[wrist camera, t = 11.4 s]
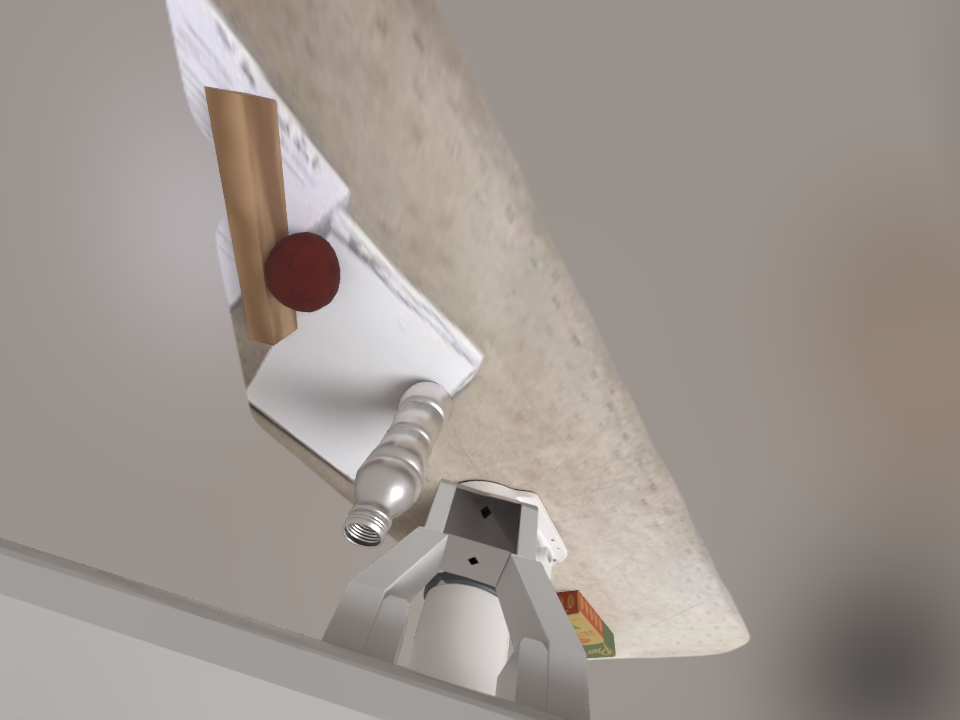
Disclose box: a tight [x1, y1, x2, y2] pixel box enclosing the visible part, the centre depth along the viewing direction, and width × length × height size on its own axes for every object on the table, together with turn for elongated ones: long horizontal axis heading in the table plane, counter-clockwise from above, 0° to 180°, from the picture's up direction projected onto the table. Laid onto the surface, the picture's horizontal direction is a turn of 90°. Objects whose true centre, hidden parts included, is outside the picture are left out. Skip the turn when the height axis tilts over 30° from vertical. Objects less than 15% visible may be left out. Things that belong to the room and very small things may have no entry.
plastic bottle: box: [342, 382, 452, 548], centre depth 39 cm, size 6×7×20 cm
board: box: [204, 86, 297, 346], centre depth 37 cm, size 3×24×4 cm, turn 169°
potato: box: [265, 232, 340, 312], centre depth 37 cm, size 7×8×7 cm
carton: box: [557, 590, 615, 658], centre depth 67 cm, size 8×16×4 cm, turn 33°
